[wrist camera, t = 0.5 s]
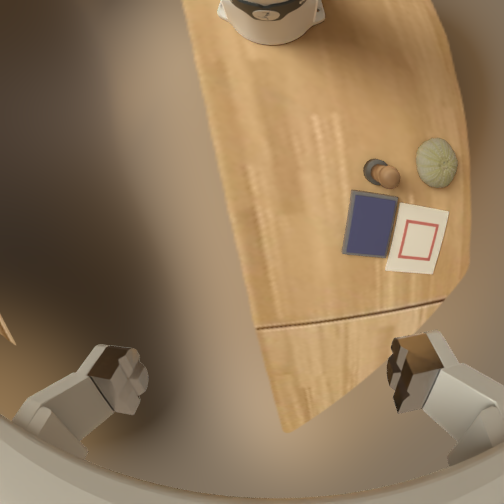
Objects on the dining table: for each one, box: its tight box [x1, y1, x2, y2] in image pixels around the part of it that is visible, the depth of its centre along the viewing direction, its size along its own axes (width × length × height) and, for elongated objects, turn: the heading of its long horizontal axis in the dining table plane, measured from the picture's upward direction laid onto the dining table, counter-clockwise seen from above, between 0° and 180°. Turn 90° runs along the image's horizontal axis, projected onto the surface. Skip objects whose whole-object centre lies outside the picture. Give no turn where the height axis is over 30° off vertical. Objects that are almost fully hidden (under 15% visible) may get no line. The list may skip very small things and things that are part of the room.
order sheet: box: [385, 202, 449, 274], centre depth 49 cm, size 14×12×1 cm
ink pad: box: [342, 190, 398, 258], centre depth 49 cm, size 12×9×2 cm
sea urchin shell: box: [416, 138, 458, 188], centre depth 41 cm, size 9×8×8 cm
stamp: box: [364, 159, 400, 189], centre depth 41 cm, size 4×4×9 cm
